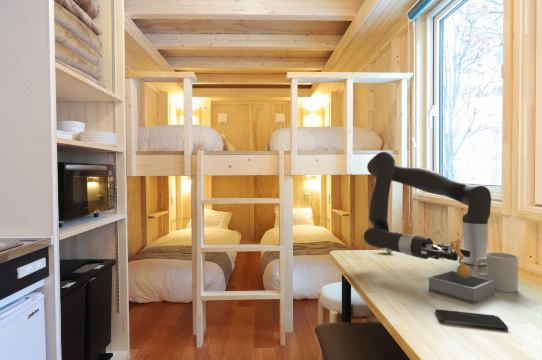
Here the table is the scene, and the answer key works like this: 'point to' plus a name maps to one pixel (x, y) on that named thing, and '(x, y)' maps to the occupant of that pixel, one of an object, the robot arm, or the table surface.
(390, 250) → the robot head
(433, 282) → the tote
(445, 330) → the table surface
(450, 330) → the table surface
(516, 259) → the mug
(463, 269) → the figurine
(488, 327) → the phone
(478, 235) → the robot arm
